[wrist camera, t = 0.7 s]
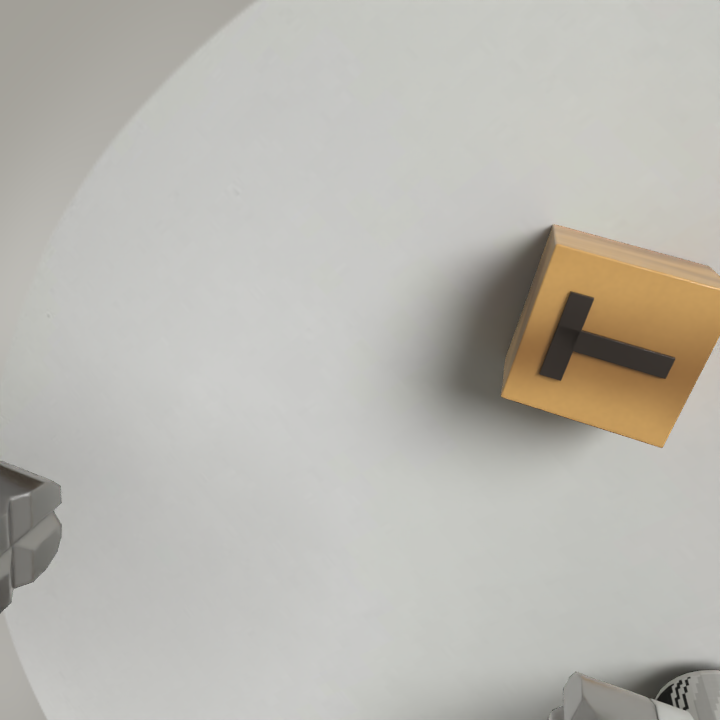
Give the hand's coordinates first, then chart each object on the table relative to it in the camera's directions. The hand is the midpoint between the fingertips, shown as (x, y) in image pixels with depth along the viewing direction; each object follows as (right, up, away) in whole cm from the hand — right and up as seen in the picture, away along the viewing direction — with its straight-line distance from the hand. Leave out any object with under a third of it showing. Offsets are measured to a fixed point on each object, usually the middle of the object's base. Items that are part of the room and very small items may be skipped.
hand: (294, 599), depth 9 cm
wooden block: (+11, +5, +16) cm, 20 cm away
